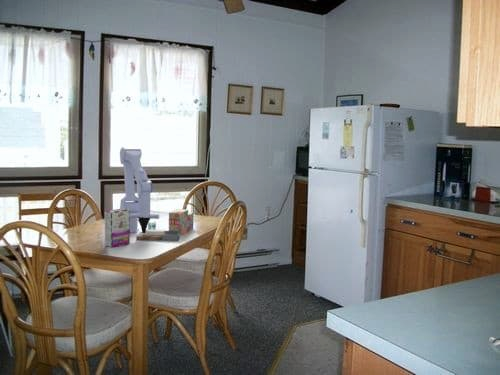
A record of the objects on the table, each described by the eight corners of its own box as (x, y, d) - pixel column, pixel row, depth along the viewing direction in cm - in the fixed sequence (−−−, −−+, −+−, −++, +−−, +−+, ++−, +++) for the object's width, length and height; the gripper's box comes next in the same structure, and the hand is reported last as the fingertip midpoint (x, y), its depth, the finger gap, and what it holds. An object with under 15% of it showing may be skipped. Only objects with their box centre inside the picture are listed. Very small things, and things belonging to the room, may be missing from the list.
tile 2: (154, 235, 233) (154, 231, 233) (156, 233, 238) (156, 229, 237) (164, 235, 233) (164, 231, 233) (165, 233, 238) (165, 229, 238)
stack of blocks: (182, 228, 264) (183, 206, 263) (193, 229, 263) (194, 207, 262) (168, 235, 244) (168, 212, 242) (179, 236, 242) (180, 212, 241)
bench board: (136, 240, 230) (136, 236, 230) (140, 235, 241) (140, 231, 240) (161, 241, 230) (161, 237, 230) (163, 236, 241) (163, 232, 241)
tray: (161, 240, 231) (161, 234, 231) (164, 236, 241) (164, 230, 241) (178, 241, 231) (178, 235, 231) (180, 236, 241) (180, 231, 241)
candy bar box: (122, 242, 225) (122, 207, 224) (130, 243, 223) (130, 209, 221) (103, 246, 216) (104, 210, 214) (111, 247, 213) (111, 211, 212)
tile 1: (145, 235, 233) (145, 231, 233) (146, 233, 237) (146, 229, 237) (154, 235, 233) (154, 231, 233) (156, 233, 238) (156, 229, 237)
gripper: (127, 206, 229) (127, 234, 231) (158, 207, 230) (157, 234, 231) (130, 204, 236) (130, 231, 238) (160, 205, 237) (159, 231, 238)
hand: (144, 232), depth 235 cm, fingers closed
